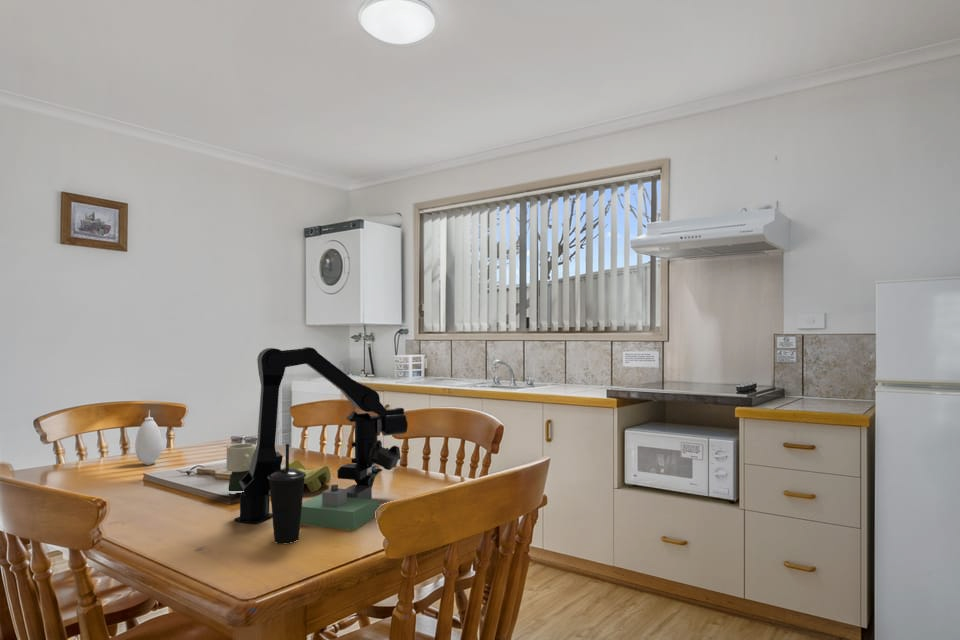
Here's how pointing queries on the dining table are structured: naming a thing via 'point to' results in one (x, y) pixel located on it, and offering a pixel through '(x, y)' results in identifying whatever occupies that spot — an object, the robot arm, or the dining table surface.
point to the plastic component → (312, 475)
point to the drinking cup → (286, 501)
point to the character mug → (238, 463)
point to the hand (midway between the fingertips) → (366, 498)
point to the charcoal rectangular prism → (359, 491)
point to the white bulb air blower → (148, 442)
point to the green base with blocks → (338, 510)
